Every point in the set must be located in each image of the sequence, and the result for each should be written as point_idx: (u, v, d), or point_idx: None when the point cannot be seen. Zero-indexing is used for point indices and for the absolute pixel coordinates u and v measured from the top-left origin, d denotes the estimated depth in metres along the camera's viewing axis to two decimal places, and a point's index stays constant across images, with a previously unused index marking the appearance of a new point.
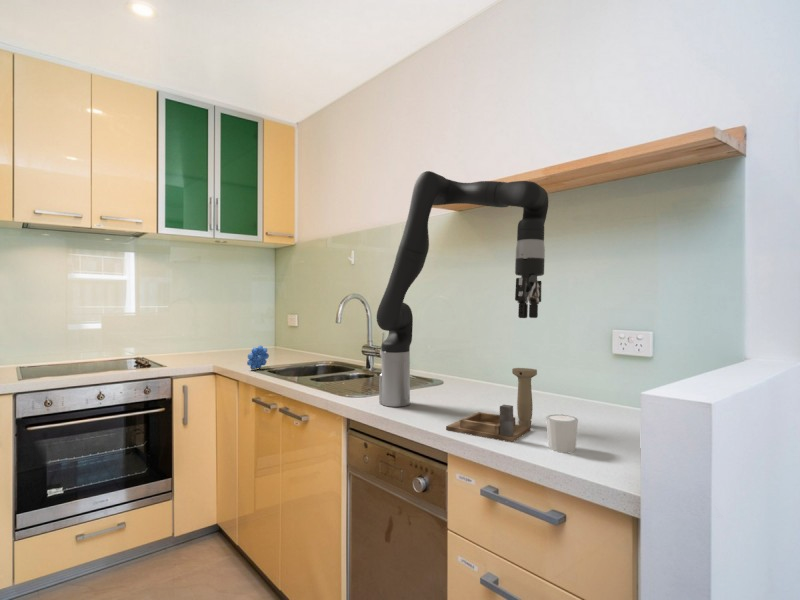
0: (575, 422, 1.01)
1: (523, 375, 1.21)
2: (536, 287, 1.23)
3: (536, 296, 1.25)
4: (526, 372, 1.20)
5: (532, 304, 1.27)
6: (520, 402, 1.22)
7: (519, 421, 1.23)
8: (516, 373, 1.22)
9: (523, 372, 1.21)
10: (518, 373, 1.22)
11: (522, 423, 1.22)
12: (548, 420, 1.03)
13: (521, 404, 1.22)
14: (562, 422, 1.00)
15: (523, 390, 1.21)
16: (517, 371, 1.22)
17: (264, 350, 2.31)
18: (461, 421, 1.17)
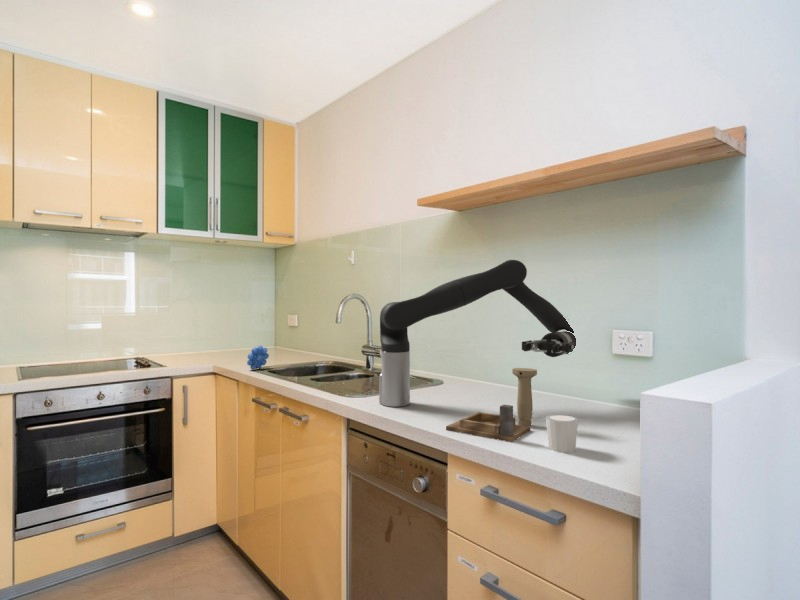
0: (575, 422, 1.01)
1: (523, 375, 1.21)
2: (545, 351, 1.39)
3: (536, 350, 1.38)
4: (526, 372, 1.20)
5: (530, 345, 1.37)
6: (520, 402, 1.22)
7: (519, 421, 1.23)
8: (516, 373, 1.22)
9: (523, 372, 1.21)
10: (518, 373, 1.22)
11: (522, 423, 1.22)
12: (548, 420, 1.03)
13: (521, 404, 1.22)
14: (562, 422, 1.00)
15: (523, 390, 1.21)
16: (517, 371, 1.22)
17: (264, 350, 2.31)
18: (461, 421, 1.17)
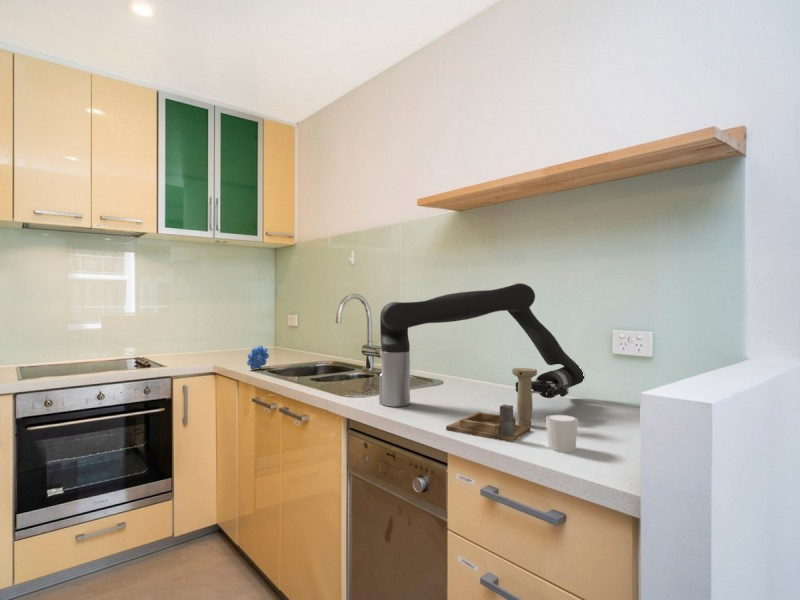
0: (575, 422, 1.01)
1: (523, 375, 1.21)
2: (539, 392, 1.36)
3: None
4: (526, 372, 1.20)
5: None
6: (520, 402, 1.22)
7: (519, 421, 1.23)
8: (516, 373, 1.22)
9: (523, 372, 1.21)
10: (518, 373, 1.22)
11: (522, 423, 1.22)
12: (548, 420, 1.03)
13: (521, 404, 1.22)
14: (562, 422, 1.00)
15: (523, 390, 1.21)
16: (517, 371, 1.22)
17: (264, 350, 2.31)
18: (461, 421, 1.17)
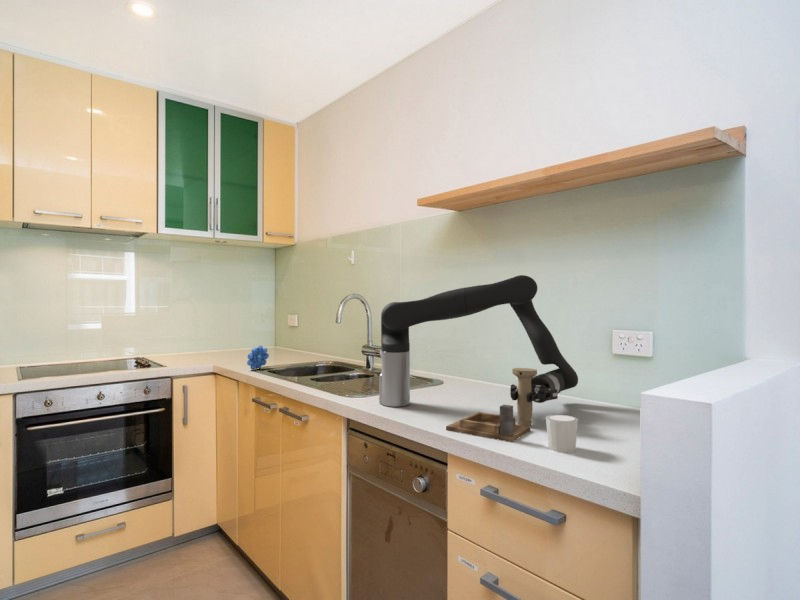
0: (575, 422, 1.01)
1: (523, 375, 1.21)
2: None
3: None
4: (526, 372, 1.20)
5: None
6: (520, 402, 1.22)
7: (519, 421, 1.23)
8: (516, 373, 1.22)
9: (523, 372, 1.21)
10: (518, 373, 1.22)
11: (522, 423, 1.22)
12: (548, 420, 1.03)
13: (521, 404, 1.22)
14: (562, 422, 1.00)
15: (523, 390, 1.21)
16: (517, 371, 1.22)
17: (264, 350, 2.31)
18: (461, 421, 1.17)
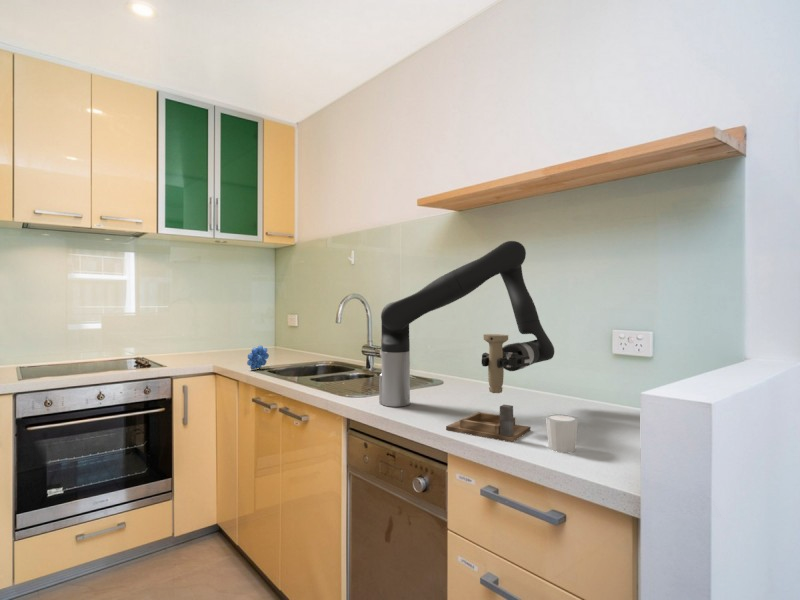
0: (575, 422, 1.01)
1: (494, 340, 1.17)
2: None
3: None
4: (497, 337, 1.17)
5: None
6: (490, 368, 1.19)
7: (490, 388, 1.20)
8: (487, 338, 1.19)
9: (494, 337, 1.17)
10: (489, 338, 1.18)
11: (493, 390, 1.18)
12: (548, 420, 1.03)
13: (492, 370, 1.18)
14: (562, 422, 1.00)
15: (494, 356, 1.18)
16: (488, 336, 1.18)
17: (264, 350, 2.31)
18: (461, 421, 1.17)
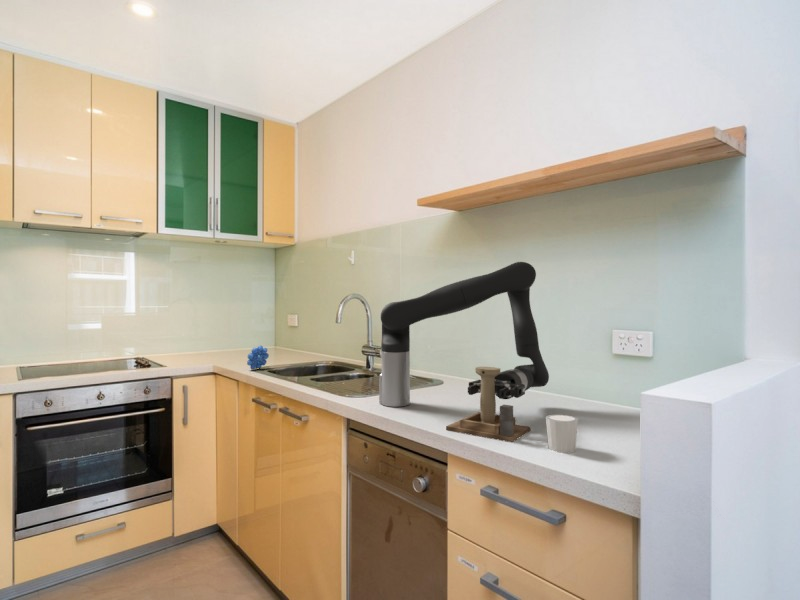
0: (575, 422, 1.01)
1: (485, 374, 1.16)
2: None
3: None
4: (489, 371, 1.16)
5: (477, 387, 1.22)
6: (482, 402, 1.17)
7: (482, 422, 1.18)
8: (479, 372, 1.18)
9: (485, 371, 1.16)
10: (481, 372, 1.17)
11: None
12: (548, 420, 1.03)
13: (484, 404, 1.17)
14: (562, 422, 1.00)
15: (486, 390, 1.17)
16: (480, 370, 1.17)
17: (264, 350, 2.31)
18: (461, 421, 1.17)
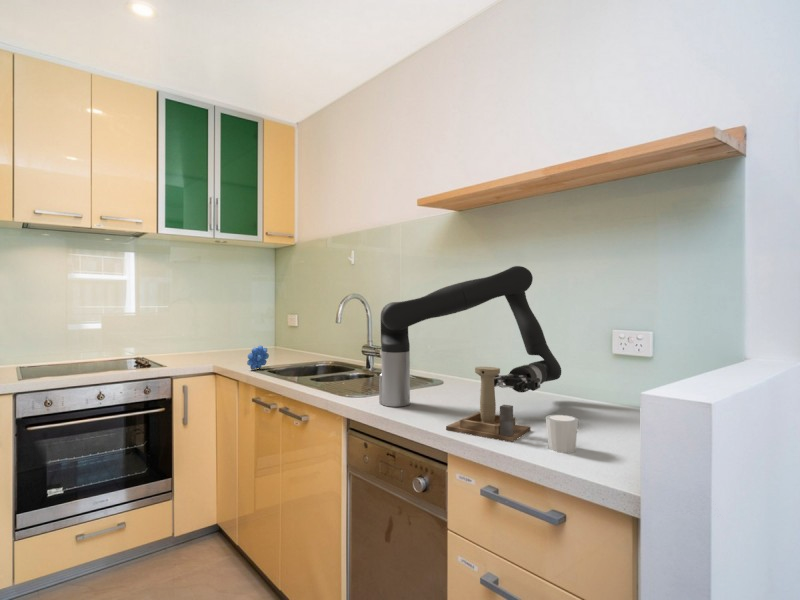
0: (575, 422, 1.01)
1: (485, 374, 1.17)
2: (511, 387, 1.33)
3: (502, 385, 1.33)
4: (488, 370, 1.16)
5: (495, 381, 1.31)
6: (482, 402, 1.18)
7: (482, 422, 1.18)
8: (478, 372, 1.18)
9: (485, 371, 1.16)
10: (480, 372, 1.17)
11: None
12: (548, 420, 1.03)
13: (484, 404, 1.17)
14: (562, 422, 1.00)
15: (486, 389, 1.17)
16: (479, 370, 1.18)
17: (264, 350, 2.31)
18: (461, 421, 1.17)
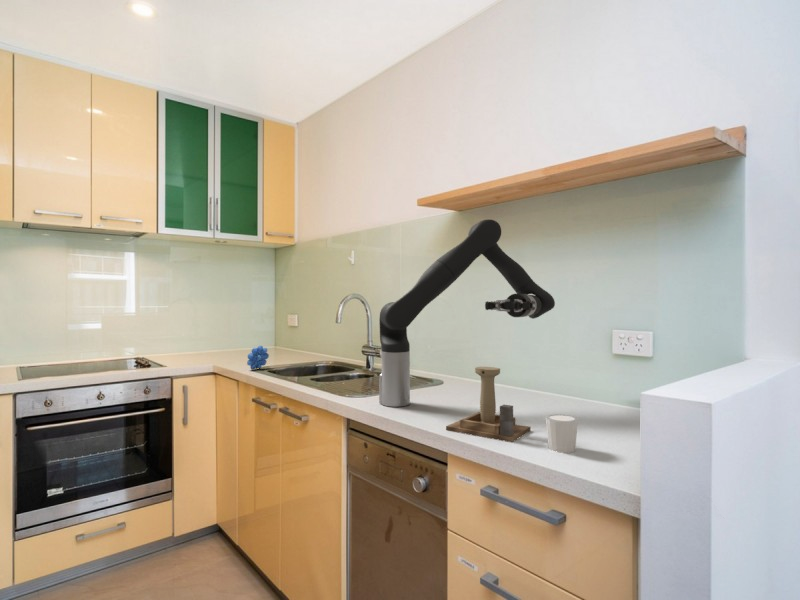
0: (575, 422, 1.01)
1: (485, 374, 1.16)
2: (508, 311, 1.42)
3: (499, 309, 1.41)
4: (489, 371, 1.16)
5: (493, 304, 1.40)
6: (482, 402, 1.17)
7: (482, 422, 1.18)
8: (478, 372, 1.18)
9: (485, 371, 1.16)
10: (480, 372, 1.17)
11: None
12: (548, 420, 1.03)
13: (484, 404, 1.17)
14: (562, 422, 1.00)
15: (486, 390, 1.17)
16: (479, 370, 1.17)
17: (264, 350, 2.31)
18: (461, 421, 1.17)
